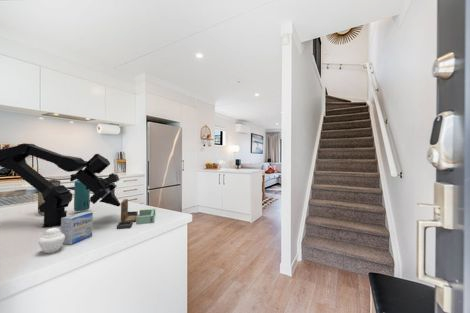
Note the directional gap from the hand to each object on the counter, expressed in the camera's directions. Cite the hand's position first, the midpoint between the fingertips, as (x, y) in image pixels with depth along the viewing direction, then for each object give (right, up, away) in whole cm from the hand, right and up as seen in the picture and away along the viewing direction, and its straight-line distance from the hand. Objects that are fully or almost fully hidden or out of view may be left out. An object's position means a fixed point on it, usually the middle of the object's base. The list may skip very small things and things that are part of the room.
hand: (119, 205), depth 90 cm
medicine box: (-3, -7, -20) cm, 22 cm away
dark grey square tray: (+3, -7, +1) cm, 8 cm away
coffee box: (-40, -6, +10) cm, 42 cm away
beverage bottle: (-26, -7, +12) cm, 29 cm away
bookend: (+6, -7, +2) cm, 10 cm away
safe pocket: (+10, -7, +3) cm, 13 cm away
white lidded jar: (-5, -7, -28) cm, 30 cm away
